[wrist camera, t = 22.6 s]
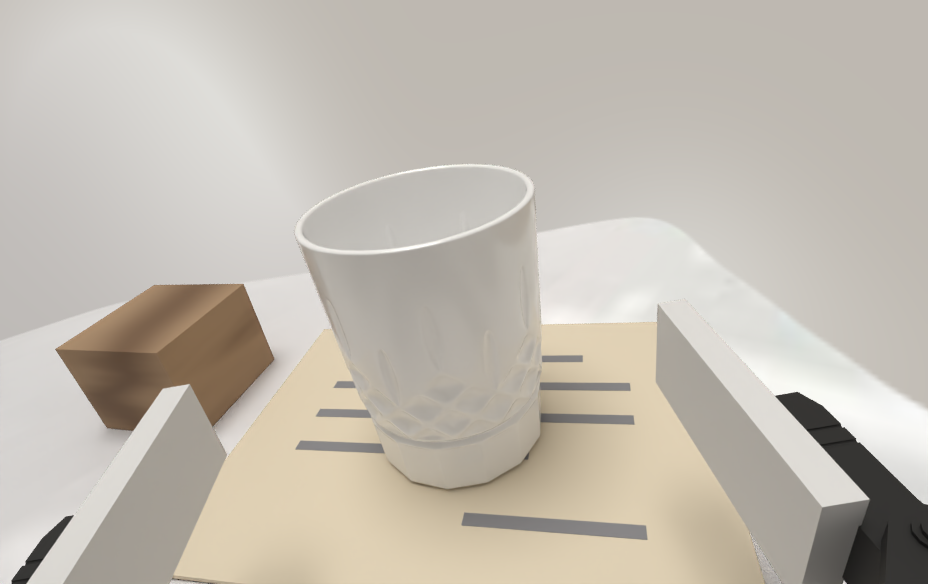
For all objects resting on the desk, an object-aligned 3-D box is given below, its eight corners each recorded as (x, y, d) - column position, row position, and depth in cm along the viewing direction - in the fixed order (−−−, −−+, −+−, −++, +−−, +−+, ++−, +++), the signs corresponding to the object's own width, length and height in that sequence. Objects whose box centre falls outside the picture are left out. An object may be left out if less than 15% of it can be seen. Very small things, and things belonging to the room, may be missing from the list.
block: (108, 429, 26) (55, 349, 24) (191, 357, 31) (154, 285, 29) (203, 439, 24) (156, 353, 22) (275, 361, 29) (243, 284, 27)
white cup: (491, 540, 17) (435, 270, 12) (331, 458, 21) (243, 236, 16) (588, 393, 22) (575, 165, 17) (443, 352, 27) (401, 161, 22)
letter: (143, 574, 18) (140, 570, 18) (325, 332, 31) (324, 329, 31) (783, 653, 13) (784, 648, 13) (685, 324, 26) (686, 321, 26)
